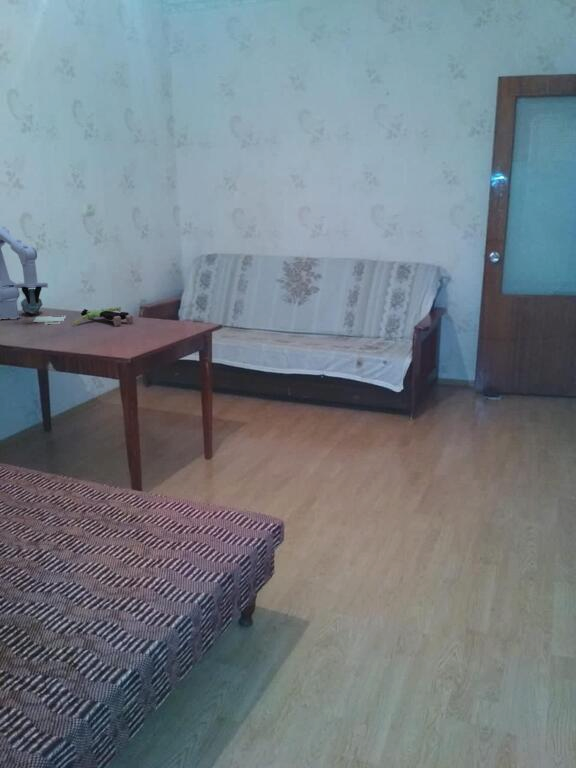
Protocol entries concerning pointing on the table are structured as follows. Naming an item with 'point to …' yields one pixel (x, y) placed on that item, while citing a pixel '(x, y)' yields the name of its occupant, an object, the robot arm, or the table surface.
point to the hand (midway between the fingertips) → (33, 303)
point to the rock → (27, 307)
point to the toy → (106, 315)
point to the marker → (32, 299)
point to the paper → (49, 319)
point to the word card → (51, 323)
